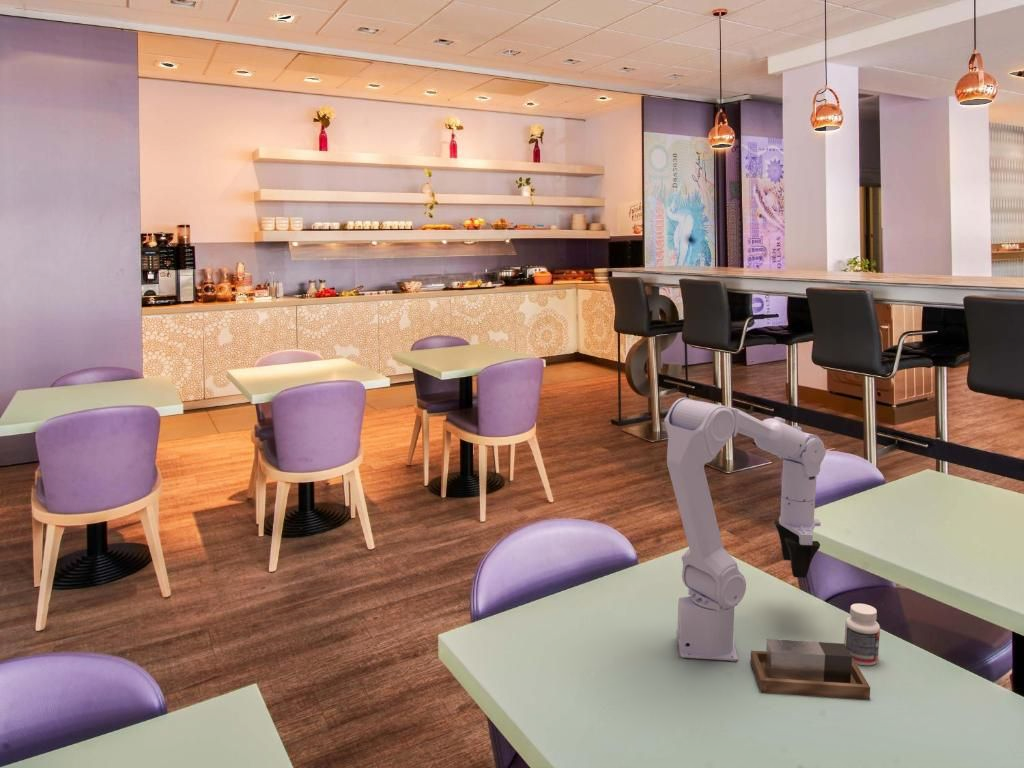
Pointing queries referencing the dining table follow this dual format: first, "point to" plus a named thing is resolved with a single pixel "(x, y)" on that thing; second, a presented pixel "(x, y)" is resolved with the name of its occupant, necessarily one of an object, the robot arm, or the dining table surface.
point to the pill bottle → (862, 634)
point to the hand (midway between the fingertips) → (794, 568)
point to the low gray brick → (808, 661)
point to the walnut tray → (809, 682)
